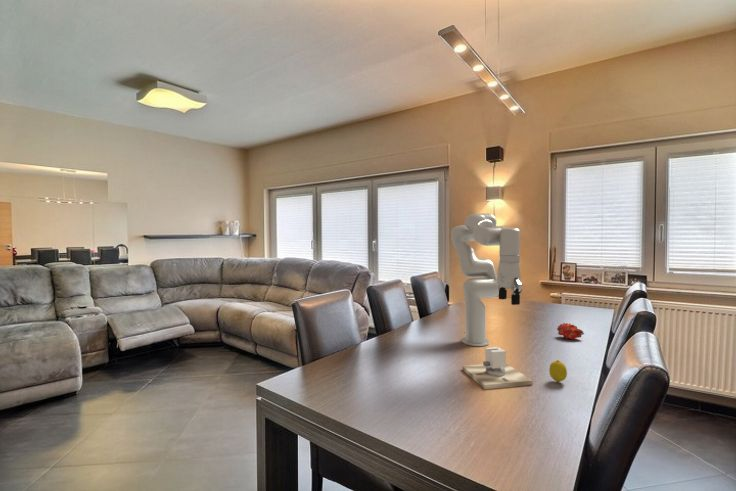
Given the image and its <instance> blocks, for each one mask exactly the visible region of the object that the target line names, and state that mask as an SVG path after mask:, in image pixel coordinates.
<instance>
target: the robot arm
mask: <svg viewBox="0 0 736 491" xmlns="http://www.w3.org/2000/svg"><path fill="white" fill-rule="evenodd" d="M450 238H451V243H452V245H453V247H454V250H455V251H456V254H457V257H458V260H459V266H460V269H461V272H462V275H463V276H464V277H465V278H469V279H466V280H465V281H464V282H463V284H462V291H463V297H464V319H465V321H464V322H465V323H464V324H465V327H464V328H465V329H464V330H465V331H464V334H465V336H464V338H462V339H461V342H462V344H464V345H466V346H467V345H468V346H469V347H470V346H473V347H486V346H488V345H490V341H489V340H488V338H487V337H486V334H487V333H486V328H487V327H486V326H487V325H486V306H485V303H484V302H483V301H482V300H481V299H488V298H497V297H498V300H507V299H508V298H507V297H508V296H507V293H508V292H507V290H510V291H511V295H510V296H511V298H510V299H511V302H510V304H511V305H512V306H515V305H517V306H518V305H520V304H521V303H520V302H521V301H520V300H521V295H522V294H521V293H522V291H523V287H524V285H523V284H522V282H521V268H520V263H521V262H520V261H521V260H520V258H521V257H520V256H521V255H520V254H521V230H520V229H519V228H514V227H511V228H510V227H497V219H496V216H495V215H493V214H492V213H472V214H469V215H467V216H466V217H465V220H464V224H462V225H456V226H454V227H453V228H452V230H451V233H450ZM468 242H477V243H478V244H480V245H482V246H485V247H486V246H489V247H490V246H499V255H498V256H499V262H498V268H497V270H496V269H495V265H494V262H493V261H491V259H489V258H478V257H477V256H476V252H475V249H474V248H473V247H472V246H471V245H470V244H469V243H468Z"/></svg>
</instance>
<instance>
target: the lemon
mask: <svg viewBox="0 0 736 491" xmlns="http://www.w3.org/2000/svg"><path fill="white" fill-rule="evenodd" d="M548 372H549V376H550V377H551V379H553V380H554V381H556V383H558V384H559V383H560V382H563V381H564V380H566V378H567V375H568V370H567V367H566V365H565V364H564V363H563V362H562V361H561V360H558V359H556V360H554V361H552V362H551V363H550V365H549V368H548Z"/></svg>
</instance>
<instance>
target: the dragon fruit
mask: <svg viewBox="0 0 736 491" xmlns="http://www.w3.org/2000/svg"><path fill="white" fill-rule="evenodd" d="M556 330H557V332H558V333H557V335H559V336H562V337H563V339H565V340H567V339H569V340H573V341H579V339H578V338H582V336H583V335H585V332H584V331H583V330H582V329H580V328H578V327H577V326H576V325H575V324H574V323H573V324H571V323H568V322H562V323H560V325H558V326H557V328H556Z"/></svg>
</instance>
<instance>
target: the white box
mask: <svg viewBox="0 0 736 491" xmlns="http://www.w3.org/2000/svg"><path fill="white" fill-rule="evenodd" d="M484 351H485V352H484V353H485V354H484V356H485V357H484V358H485V360H484V361H482V364H483V366H485V367H487V366H490V367H491V368H493V369H494V368H504V367H506V364H507V359H506V358H507V354H506V353H507V351H506V350H504V349H503V348H500V347H499V346H490V347H485V349H484Z"/></svg>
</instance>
